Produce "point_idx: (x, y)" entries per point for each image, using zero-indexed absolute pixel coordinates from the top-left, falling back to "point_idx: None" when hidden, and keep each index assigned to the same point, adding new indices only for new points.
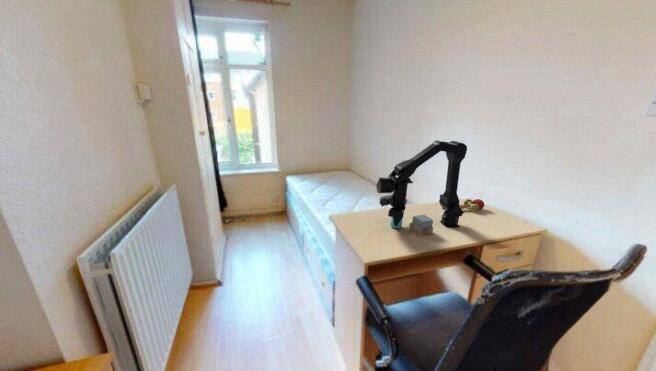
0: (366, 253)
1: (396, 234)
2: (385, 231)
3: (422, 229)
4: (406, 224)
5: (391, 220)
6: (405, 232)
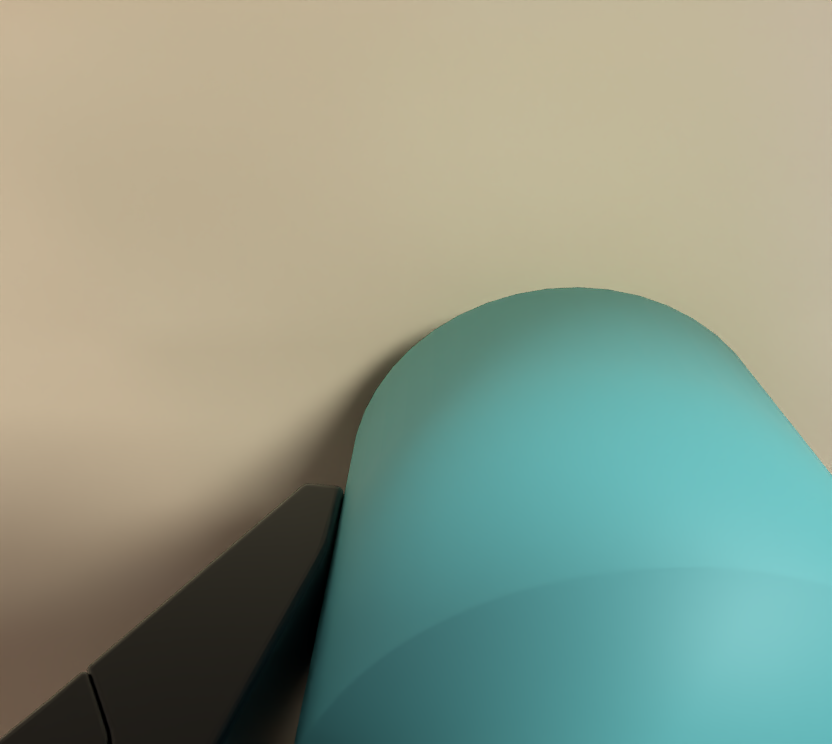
0: None
1: (19, 477)
2: (30, 94)
3: None
4: None
5: (497, 437)
6: None
